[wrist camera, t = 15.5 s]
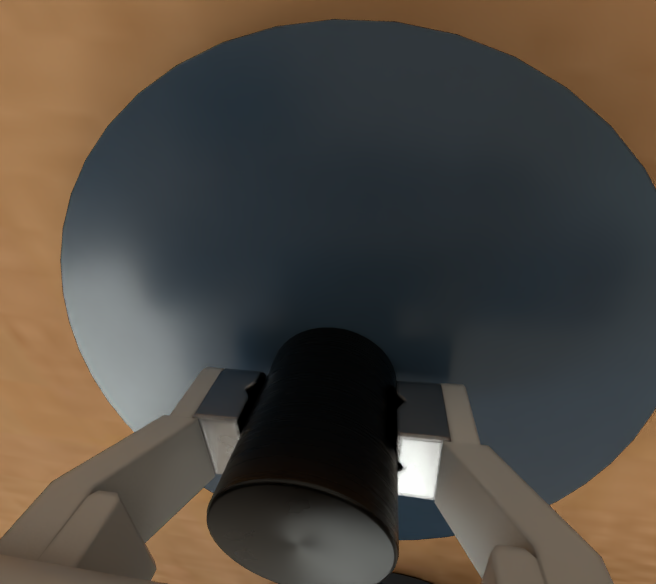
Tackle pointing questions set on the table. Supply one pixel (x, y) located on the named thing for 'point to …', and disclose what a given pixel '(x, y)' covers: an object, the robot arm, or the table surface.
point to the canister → (401, 580)
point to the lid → (365, 275)
